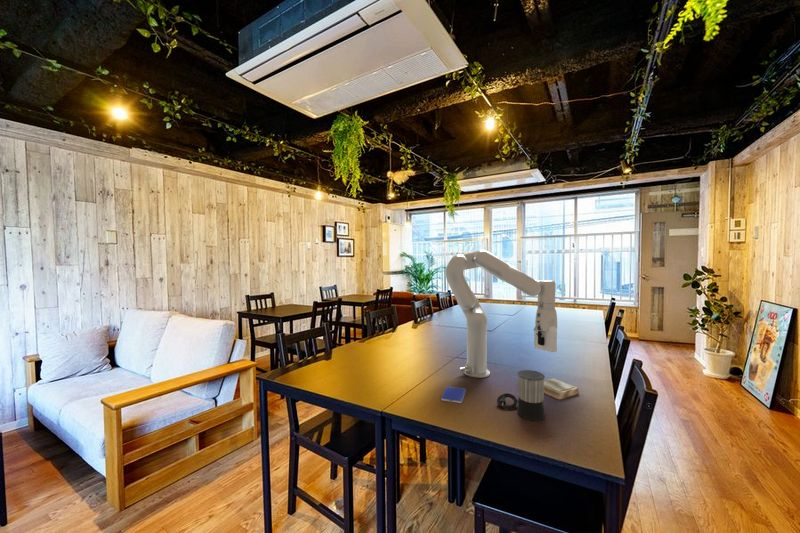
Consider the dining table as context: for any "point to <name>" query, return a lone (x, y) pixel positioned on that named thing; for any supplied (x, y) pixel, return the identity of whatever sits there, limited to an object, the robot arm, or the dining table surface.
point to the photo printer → (547, 340)
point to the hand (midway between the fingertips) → (545, 343)
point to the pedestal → (559, 389)
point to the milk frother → (527, 395)
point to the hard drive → (453, 394)
